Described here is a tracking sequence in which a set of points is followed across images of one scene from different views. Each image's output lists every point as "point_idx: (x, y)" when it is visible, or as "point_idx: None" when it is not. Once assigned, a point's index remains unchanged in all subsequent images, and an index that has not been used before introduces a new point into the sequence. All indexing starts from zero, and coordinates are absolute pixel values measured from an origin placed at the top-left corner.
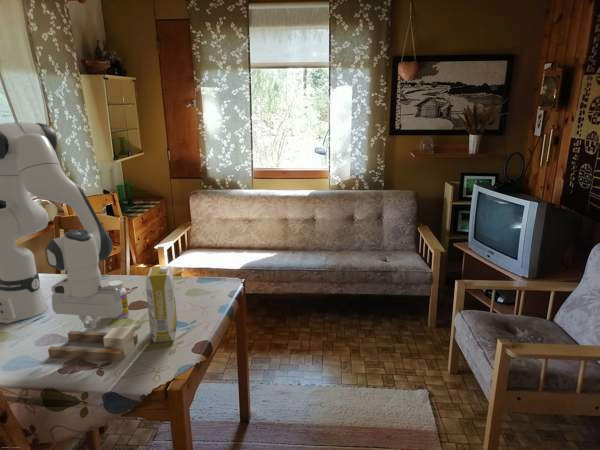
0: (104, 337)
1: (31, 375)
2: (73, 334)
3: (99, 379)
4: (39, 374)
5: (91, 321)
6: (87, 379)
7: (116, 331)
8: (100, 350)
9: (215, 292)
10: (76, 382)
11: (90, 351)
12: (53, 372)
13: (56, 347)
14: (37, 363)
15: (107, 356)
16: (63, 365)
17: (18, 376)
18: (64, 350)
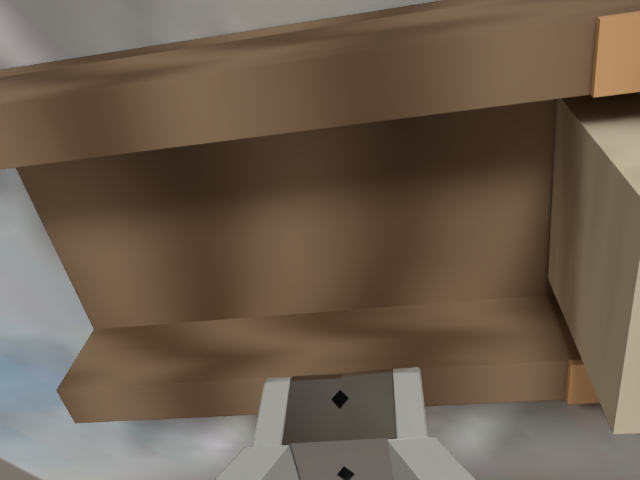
0: (626, 428)
1: (156, 454)
2: (6, 163)
3: (612, 435)
4: (191, 444)
5: (355, 456)
6: (528, 443)
7: None
8: (553, 376)
9: None
10: (475, 469)
11: (463, 399)
12: (255, 421)
13: (110, 394)
14: (62, 369)
15: None
16: None
17: (97, 468)
18: (217, 414)
